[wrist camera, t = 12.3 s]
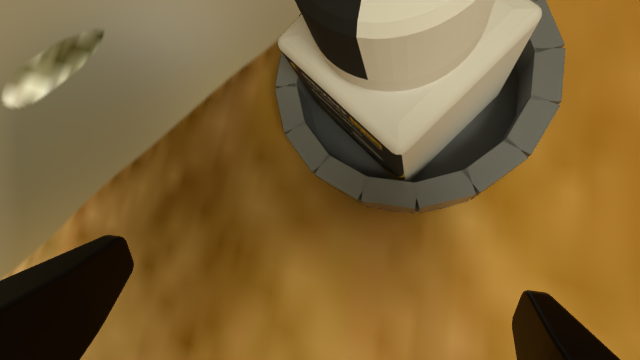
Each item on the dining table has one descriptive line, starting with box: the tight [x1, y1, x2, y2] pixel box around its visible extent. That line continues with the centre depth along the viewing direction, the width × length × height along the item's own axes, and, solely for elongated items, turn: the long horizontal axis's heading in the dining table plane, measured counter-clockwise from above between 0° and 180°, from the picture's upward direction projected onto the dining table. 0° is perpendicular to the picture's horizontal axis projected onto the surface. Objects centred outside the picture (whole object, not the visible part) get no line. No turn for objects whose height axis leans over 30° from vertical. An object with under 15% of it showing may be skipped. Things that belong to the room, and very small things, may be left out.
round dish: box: [275, 0, 565, 213], centre depth 19 cm, size 14×14×3 cm
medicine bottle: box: [278, 0, 542, 182], centre depth 14 cm, size 7×7×12 cm
